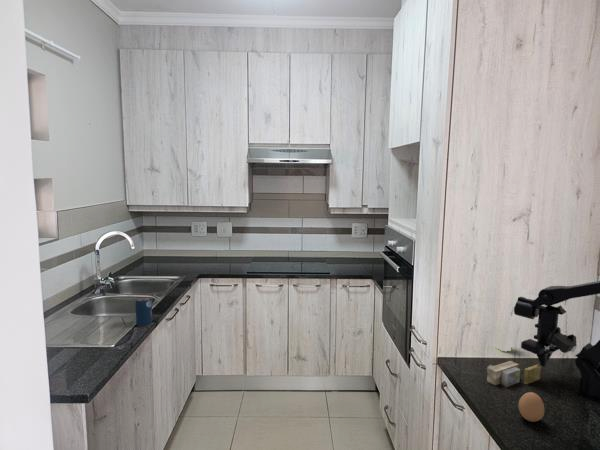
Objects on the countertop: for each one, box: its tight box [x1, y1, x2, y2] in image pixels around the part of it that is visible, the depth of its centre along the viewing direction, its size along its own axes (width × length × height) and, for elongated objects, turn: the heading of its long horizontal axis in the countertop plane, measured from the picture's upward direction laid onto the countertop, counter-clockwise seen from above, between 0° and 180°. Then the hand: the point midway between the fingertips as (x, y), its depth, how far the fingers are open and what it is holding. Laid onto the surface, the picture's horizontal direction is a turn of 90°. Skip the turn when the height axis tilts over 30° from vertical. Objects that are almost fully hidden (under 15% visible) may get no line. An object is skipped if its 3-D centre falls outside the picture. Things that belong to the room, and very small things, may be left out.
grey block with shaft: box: [486, 364, 522, 388], centre depth 140 cm, size 9×7×5 cm
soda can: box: [134, 296, 153, 328], centre depth 183 cm, size 7×7×12 cm
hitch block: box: [486, 360, 520, 386], centre depth 139 cm, size 3×12×5 cm, turn 118°
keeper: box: [523, 363, 542, 385], centre depth 138 cm, size 1×7×5 cm, turn 118°
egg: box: [518, 391, 545, 423], centre depth 116 cm, size 6×6×8 cm
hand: (543, 366), depth 141 cm, fingers closed
